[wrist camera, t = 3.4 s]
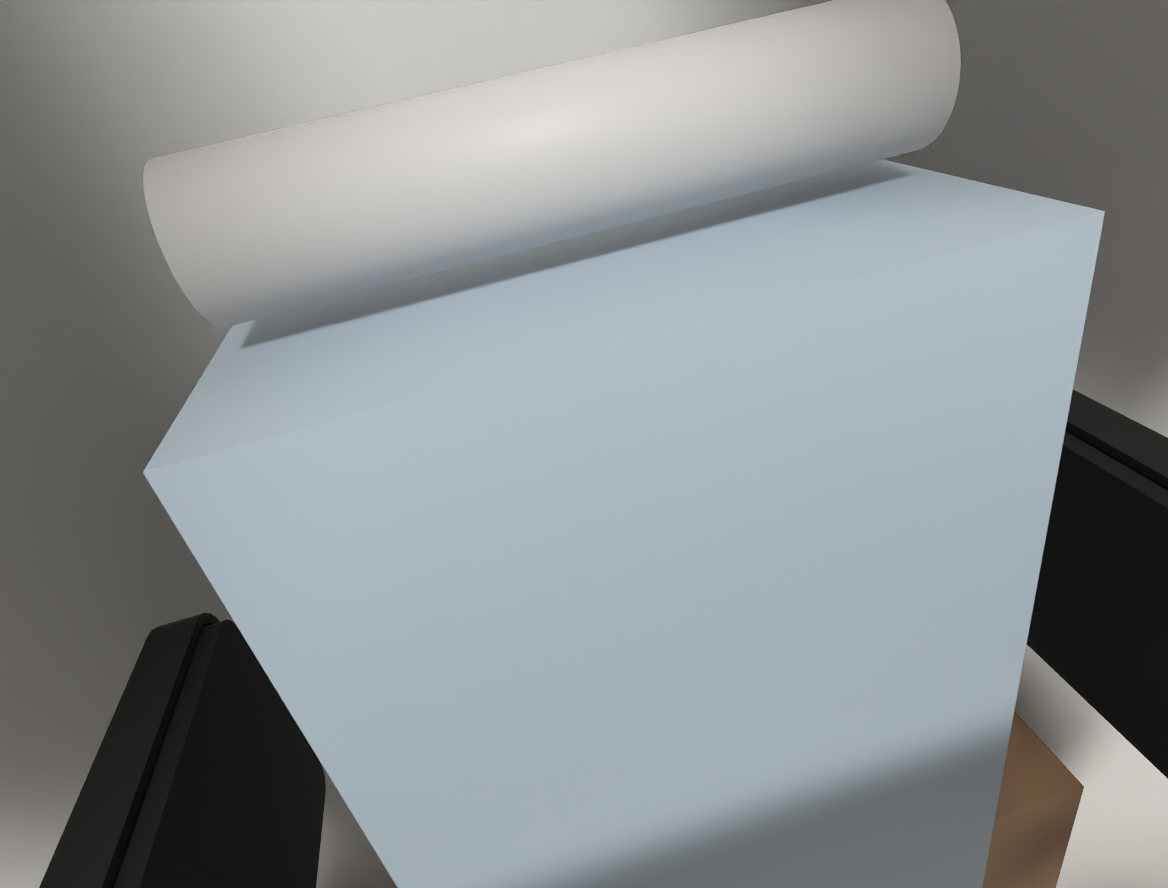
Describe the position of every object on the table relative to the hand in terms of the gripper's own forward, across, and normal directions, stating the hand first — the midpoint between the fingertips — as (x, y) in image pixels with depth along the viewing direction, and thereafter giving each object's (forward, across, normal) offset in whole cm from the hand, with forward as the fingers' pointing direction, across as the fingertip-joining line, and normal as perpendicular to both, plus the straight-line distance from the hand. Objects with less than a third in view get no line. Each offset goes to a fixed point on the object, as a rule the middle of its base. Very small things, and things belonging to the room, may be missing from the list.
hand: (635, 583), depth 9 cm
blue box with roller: (+1, 0, 0) cm, 1 cm away
